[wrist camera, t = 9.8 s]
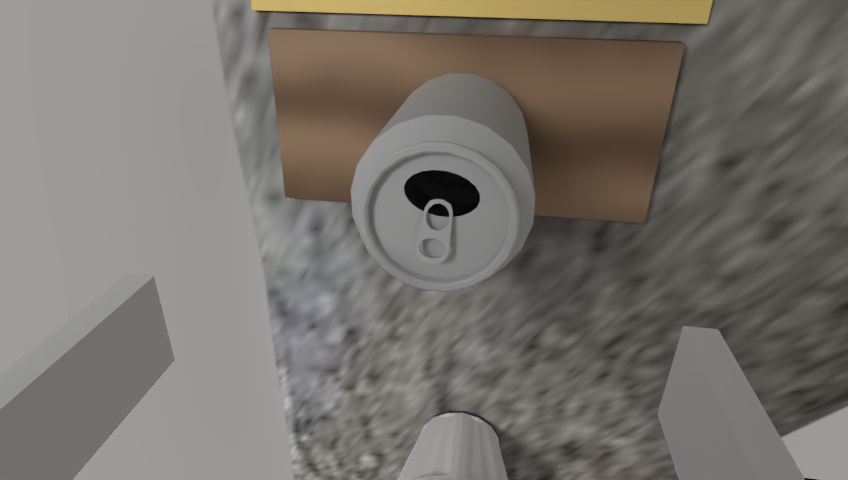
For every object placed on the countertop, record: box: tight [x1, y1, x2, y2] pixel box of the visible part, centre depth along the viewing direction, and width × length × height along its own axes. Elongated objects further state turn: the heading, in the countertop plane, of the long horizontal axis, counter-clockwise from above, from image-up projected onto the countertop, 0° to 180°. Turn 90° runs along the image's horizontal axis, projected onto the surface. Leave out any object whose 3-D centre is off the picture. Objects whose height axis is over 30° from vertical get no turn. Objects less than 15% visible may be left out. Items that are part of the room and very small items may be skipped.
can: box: [351, 73, 535, 292], centre depth 25 cm, size 8×8×12 cm
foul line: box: [251, 0, 713, 24], centre depth 28 cm, size 1×24×1 cm, turn 89°
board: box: [268, 28, 685, 223], centre depth 31 cm, size 10×22×1 cm, turn 89°
